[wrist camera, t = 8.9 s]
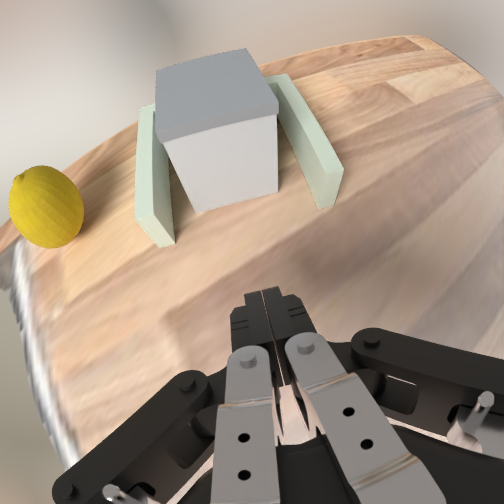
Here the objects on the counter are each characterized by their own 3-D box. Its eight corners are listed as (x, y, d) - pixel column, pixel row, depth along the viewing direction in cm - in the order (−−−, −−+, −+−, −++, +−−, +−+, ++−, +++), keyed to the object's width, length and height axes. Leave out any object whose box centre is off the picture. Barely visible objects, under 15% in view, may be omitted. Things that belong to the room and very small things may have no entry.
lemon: (103, 196, 21) (52, 134, 14) (99, 255, 19) (32, 198, 12) (56, 214, 21) (3, 163, 14) (49, 269, 19) (-17, 226, 12)
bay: (286, 108, 24) (286, 73, 20) (333, 205, 19) (344, 169, 15) (154, 139, 23) (140, 108, 20) (159, 248, 19) (134, 219, 15)
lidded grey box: (255, 129, 23) (245, 48, 15) (279, 193, 20) (278, 101, 13) (184, 147, 23) (156, 70, 15) (194, 215, 20) (155, 132, 12)
